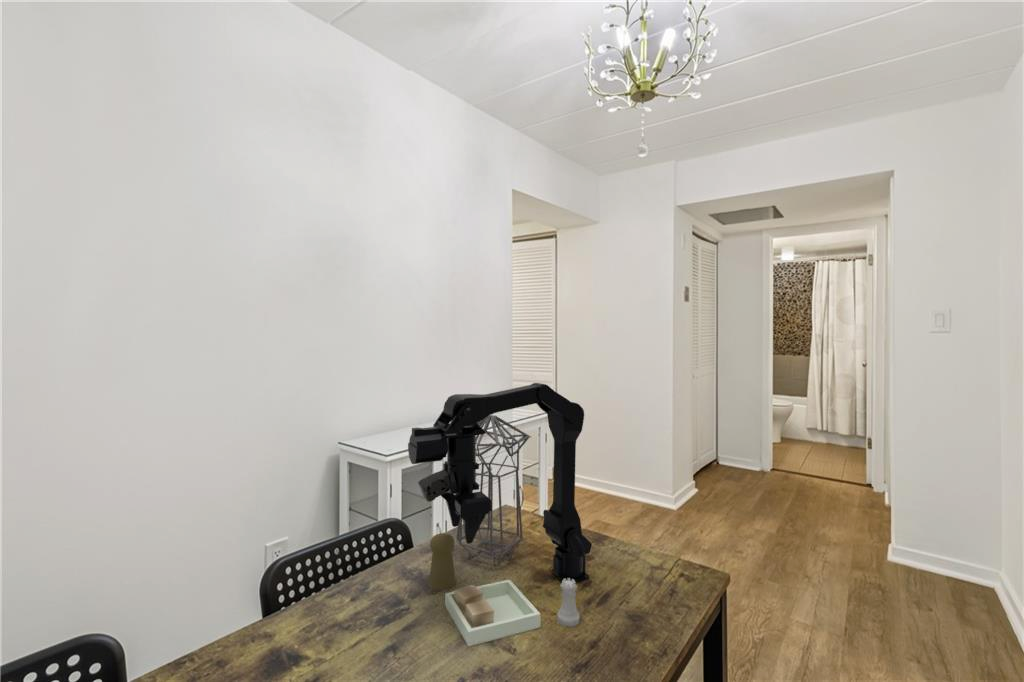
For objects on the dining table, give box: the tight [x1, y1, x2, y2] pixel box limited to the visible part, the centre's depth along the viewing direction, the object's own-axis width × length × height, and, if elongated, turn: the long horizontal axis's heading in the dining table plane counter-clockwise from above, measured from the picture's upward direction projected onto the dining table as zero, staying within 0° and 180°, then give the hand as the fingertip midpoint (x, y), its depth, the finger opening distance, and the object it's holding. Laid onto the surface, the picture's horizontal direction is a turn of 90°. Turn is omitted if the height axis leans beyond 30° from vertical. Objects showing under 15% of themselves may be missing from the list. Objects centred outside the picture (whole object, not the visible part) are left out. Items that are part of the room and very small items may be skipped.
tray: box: [444, 579, 542, 647], centre depth 95 cm, size 14×14×3 cm
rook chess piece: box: [556, 578, 581, 628], centre depth 94 cm, size 4×4×8 cm
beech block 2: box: [466, 600, 494, 628], centre depth 91 cm, size 4×4×4 cm
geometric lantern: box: [456, 414, 532, 567], centre depth 121 cm, size 16×16×35 cm
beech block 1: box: [454, 584, 483, 619], centre depth 96 cm, size 4×4×4 cm
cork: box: [428, 532, 457, 591], centre depth 108 cm, size 6×6×11 cm
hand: (461, 534), depth 100 cm, fingers open, 9 cm apart
